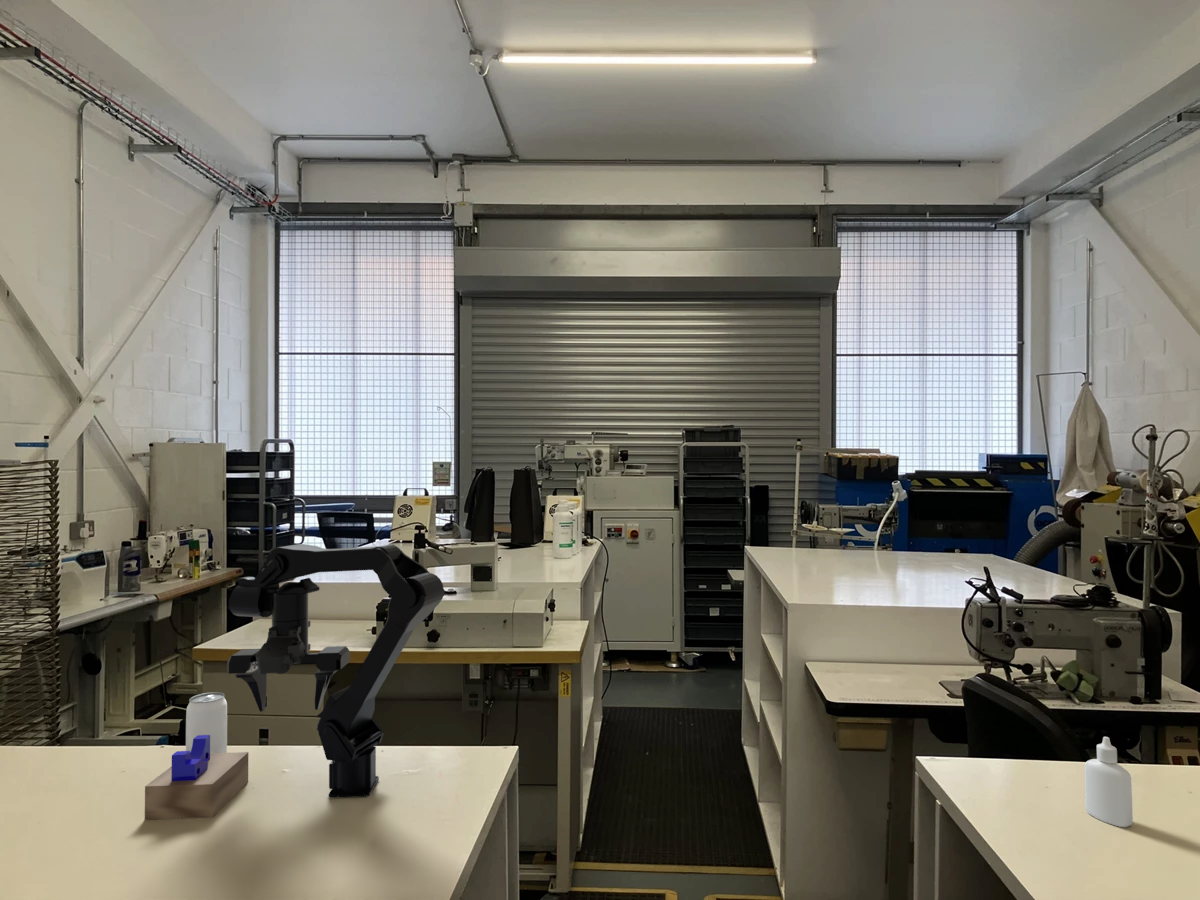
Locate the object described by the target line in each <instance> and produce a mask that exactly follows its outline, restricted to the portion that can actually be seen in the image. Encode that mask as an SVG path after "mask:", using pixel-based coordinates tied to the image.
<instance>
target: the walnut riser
mask: <svg viewBox="0 0 1200 900" xmlns="http://www.w3.org/2000/svg"><path fill="white" fill-rule="evenodd" d="M171 779H172V765H171V766H170V767H169V768H167V769H166V770H165V771H164V772H162V773H161V774H160V775H158V776H156V777H155V778H154V779H153V780H151V781H150V782H149V783H147V784H146V785H145V786H144V820H147V821H148V820H168V819H167V818H177V819H195V818H198V819H199V818H201V819H202V818H203V819H205V818H213V817H214V816H215V815H216V814H217V813H218V812H220V811H221V809H222V808H223V807H224V806H225V805H227V803H229V802H230V801H231V799H232V798H233V797H234V796H236V794H237V793H239V791H240V790H242V789H243V788H244V787H245V786H246V784H248V783H249V752H248V751H243V752H241V751H239V752H238V751H237V752H236V751H235V752H227V753H210V760H208V769H207V770H206V771H205V772H204V773H203V774H202V775H200V776H199V777H198V778H197V779H196V780H188V781H171ZM165 818H166V819H165Z"/></svg>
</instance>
